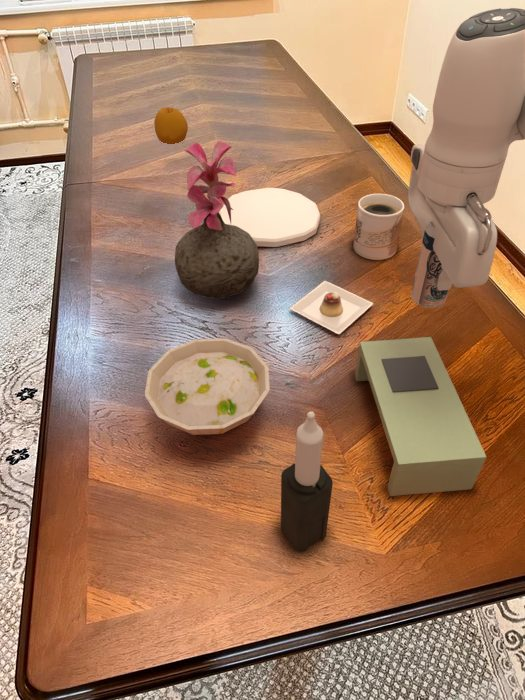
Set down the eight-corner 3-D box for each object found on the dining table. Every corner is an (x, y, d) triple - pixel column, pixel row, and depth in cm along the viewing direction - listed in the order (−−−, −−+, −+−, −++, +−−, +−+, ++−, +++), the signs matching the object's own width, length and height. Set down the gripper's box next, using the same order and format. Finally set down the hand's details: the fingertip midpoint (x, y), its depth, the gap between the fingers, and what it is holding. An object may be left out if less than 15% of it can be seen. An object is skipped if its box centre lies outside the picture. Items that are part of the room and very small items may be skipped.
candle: (298, 555, 71) (305, 440, 53) (277, 525, 74) (277, 407, 57) (329, 535, 73) (345, 418, 55) (307, 507, 76) (316, 387, 58)
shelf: (422, 370, 95) (431, 335, 89) (471, 489, 77) (487, 456, 72) (354, 375, 94) (359, 340, 88) (389, 496, 77) (398, 463, 71)
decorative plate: (337, 220, 123) (233, 240, 118) (336, 236, 126) (234, 256, 121) (298, 174, 141) (206, 190, 136) (298, 189, 144) (208, 205, 138)
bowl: (282, 383, 93) (282, 341, 86) (256, 477, 79) (254, 436, 72) (176, 367, 96) (169, 325, 89) (134, 454, 83) (121, 413, 76)
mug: (344, 253, 121) (348, 209, 114) (360, 227, 129) (366, 184, 121) (389, 264, 118) (397, 219, 110) (403, 237, 126) (412, 193, 118)
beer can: (423, 314, 73) (442, 237, 64) (403, 294, 76) (418, 219, 67) (452, 304, 74) (474, 228, 66) (431, 285, 77) (449, 210, 69)
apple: (193, 141, 167) (189, 102, 159) (183, 154, 161) (178, 114, 152) (164, 139, 169) (158, 100, 161) (152, 152, 162) (146, 112, 154)
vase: (181, 318, 106) (158, 174, 85) (177, 267, 118) (156, 131, 98) (265, 308, 108) (262, 164, 87) (252, 259, 120) (248, 124, 99)
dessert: (288, 312, 107) (289, 293, 103) (324, 284, 113) (326, 265, 110) (338, 338, 101) (340, 319, 97) (373, 307, 107) (376, 288, 104)
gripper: (524, 219, 55) (487, 322, 64) (456, 138, 70) (434, 231, 79) (464, 223, 54) (436, 325, 64) (408, 141, 69) (392, 234, 79)
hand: (434, 273), depth 72 cm, fingers closed on beer can, 5 cm apart
